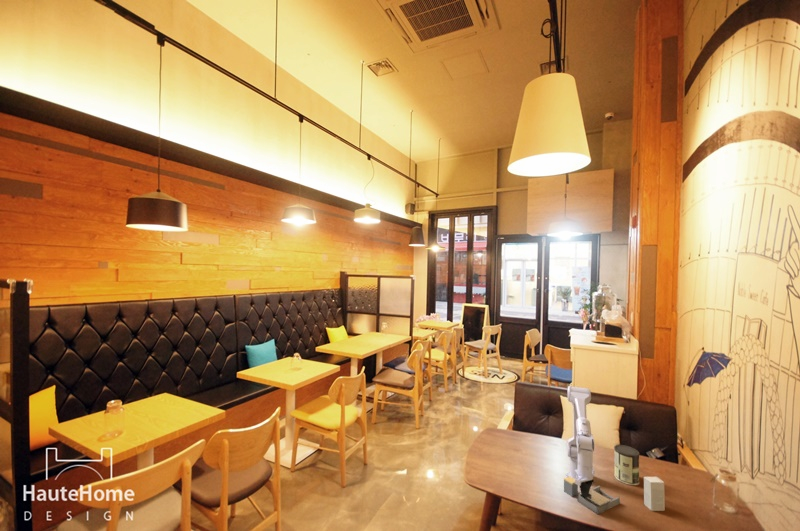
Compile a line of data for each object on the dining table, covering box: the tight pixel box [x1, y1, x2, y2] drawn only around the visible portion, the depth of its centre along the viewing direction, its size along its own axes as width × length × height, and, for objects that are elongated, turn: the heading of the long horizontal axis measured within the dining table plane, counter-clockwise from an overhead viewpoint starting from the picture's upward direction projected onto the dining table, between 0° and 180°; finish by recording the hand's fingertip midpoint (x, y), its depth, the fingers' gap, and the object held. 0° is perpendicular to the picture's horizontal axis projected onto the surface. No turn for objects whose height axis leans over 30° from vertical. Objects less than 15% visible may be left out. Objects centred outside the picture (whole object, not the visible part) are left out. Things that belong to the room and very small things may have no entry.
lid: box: [579, 487, 611, 506], centre depth 144 cm, size 7×9×2 cm
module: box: [563, 476, 579, 498], centre depth 151 cm, size 4×4×6 cm
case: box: [577, 485, 621, 515], centre depth 145 cm, size 16×9×3 cm, turn 117°
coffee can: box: [613, 444, 640, 486], centre depth 163 cm, size 10×10×14 cm
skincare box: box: [643, 476, 666, 512], centre depth 142 cm, size 6×4×12 cm
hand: (584, 495), depth 143 cm, fingers closed
